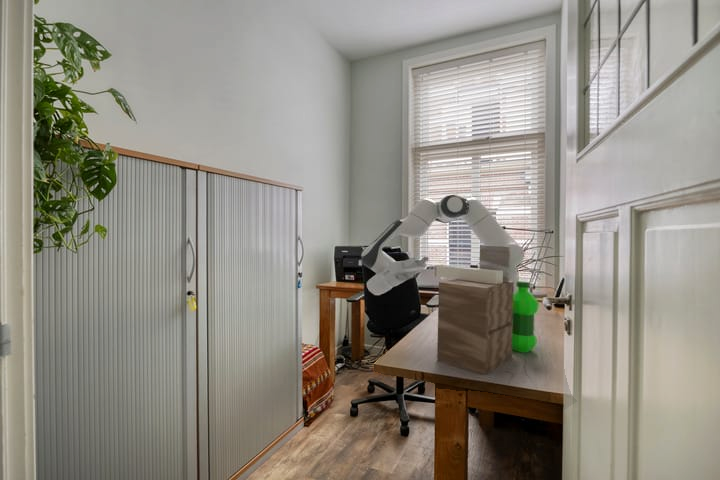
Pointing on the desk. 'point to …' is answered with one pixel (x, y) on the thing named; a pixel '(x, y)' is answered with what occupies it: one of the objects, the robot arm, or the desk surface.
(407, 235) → the robot arm
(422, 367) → the desk surface
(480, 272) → the white rectangular bar
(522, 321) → the plastic bottle
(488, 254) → the wood grain block
